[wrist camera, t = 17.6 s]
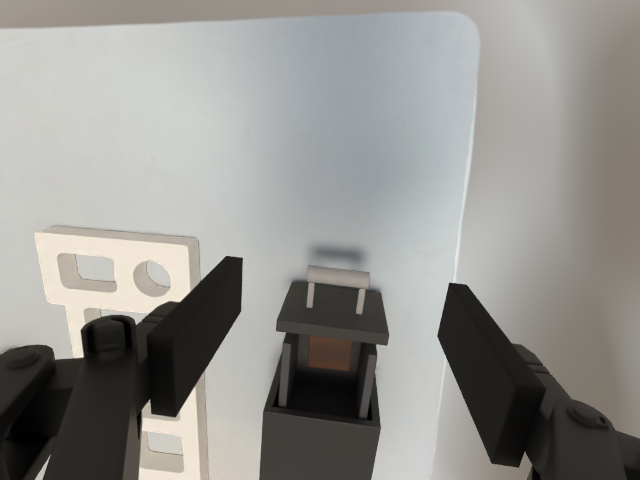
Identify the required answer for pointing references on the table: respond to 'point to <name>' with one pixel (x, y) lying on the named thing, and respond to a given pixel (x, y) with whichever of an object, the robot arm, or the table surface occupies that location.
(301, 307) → the drawer
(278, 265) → the table surface
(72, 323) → the holder
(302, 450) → the cabinet
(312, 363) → the block
